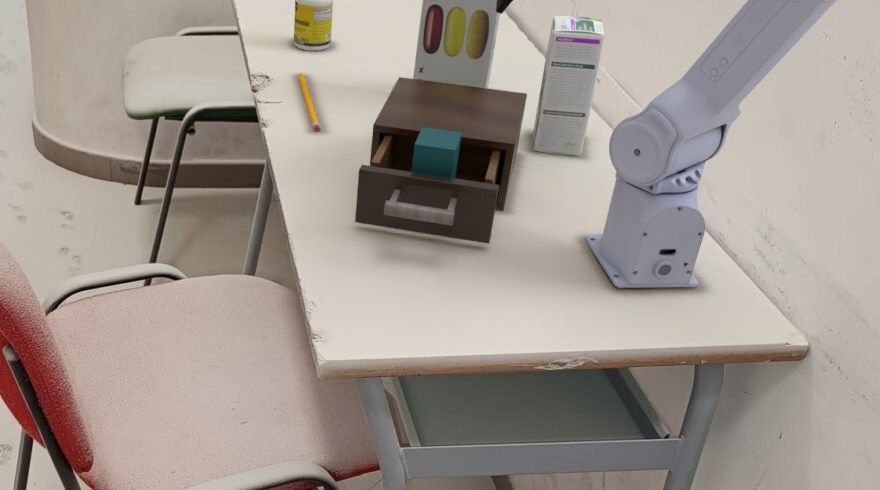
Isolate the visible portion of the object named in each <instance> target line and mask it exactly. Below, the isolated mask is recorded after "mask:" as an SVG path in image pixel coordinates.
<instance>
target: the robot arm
mask: <svg viewBox="0 0 880 490" xmlns="http://www.w3.org/2000/svg"><path fill="white" fill-rule="evenodd" d="M512 2H514V0H497V4H496V12H498V13H500V15H501V14H503V13H504V12H505V11H506V9H507V8H508V7H509V6H510V5H511V4H512ZM836 2H837V0H747V1H746V2H745V3H744V5H742V6H741V8H740V9H739V10H738V11H737V12H736V14H735V15H734V16H733V17H732V19H730V21H728V23H727V24H726V25H725V27H723V29H722V30H721V31H720V33H719V34H718V35H717V36H716V37H715V38H714V39H713V40H712V42H711V43H710V44H709V45H708V47H707V48H706V49H705V50H704V52H702V54H701V55H700V56H699V57H698V59H696V61H695V62H694V63H693V64H692V65H691V66H690V68H689V69H688V70H687V71H686V73H685V74H683V76H682V77H681V78H680V79H678V81H676V82H675V83H673V84H671V86H669V87H667V88H666V89H665V90H664V91H662V92H661V93H660V94H658V95H657V96H656V97H654V98H653V99H652V100H651V101H649V103H648V104H647V105H646V106H645V108H644V109H643V110H641V111H640V112H639V113H637V114H634V115H631V116H628V117H626V118H624V119H623V120H621V121H620V122H619V123H618V124H617V125H616V126H615V128H614V129H613V130H612V133H611V136H610V138H609V144H608V153H609V158H610V161H611V164H612V166H613V168H614V170H615V171H616V172H615V175H614V177H615V182H614V187H613V191H612V194H611V199H610V202H609V206H608V212H607V214H606V215H607V216H606V219H605V224H604V228H603V231H602V234H587V235H585V238H584V240H585V242H586V243H587V245H588V246H589V248H590V250H591V251H592V252H593V254H594V256H595V258H596V259H597V261H598V262H599V263H600V265H601V267H602V268H603V270H604V271H605V273H606V274H607V276H608V278H609V279H610V281H611V282H612V284H613V286H615V287H616V288H619V289H632V288H633V289H635V288H636V289H637V288H640V289H641V288H697V287H698V286H699V280H698V279H697V277H696V276H695V275H694V274H693V272H694V270H695V265H696V262H697V259H698V256H699V252H700V249H701V246H702V243H703V239H704V235H705V233H706V221H705V218H704V216H703V214H702V212H701V210H700V207H699V204H698V190H699V185H700V181H701V180H702V179H701V178H702V174H703V171H704V168H705V164H706V162H707V161H709V160H712V159H713V158H715V157H716V156H717V155H718V154H719V153H720V152H721V150H722V149H723V147H724V146H725V143H726V140H727V136H728V133H729V130H730V128H731V127H732V125H733V123H734V122H735V121H736V120H737V119H738V118H739V117H740V116H741V114H742V113H741V108H740V106H739V105H740V104H741V103H742V102H743V101H744V100H745V99H746V97H748V95H749V94H750V93H751V92H752V91H753V90H754V89H755V88H756V87H757V86H758V85H759V84H760V83H761V82H762V80H763V79H765V77H766V76H767V75H768V74H769V73H770V72H771V71H772V70H773V69H774V68H775V67H776V65H778V63H780V62H781V60H783V58H785V56H786V55H787V54H788V53H789V52H790V51H791V50H792V48H793V47H794V46H795V45H796V44H798V42H799V41H800V40H801V39H802V38H803V37H804V36H805V35H806V34H807V32H809V30H810V29H811V28H812V27H813V26H814V25H815V24H816V23H817V22H818V21H819V20H820V19H821V18H822V17H823V16H824V14H825V13H826V12H827V11H828V10H829V9H830V8H831V7H832V6H833V5H834V4H835V3H836Z"/></svg>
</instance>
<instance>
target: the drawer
mask: <svg viewBox="0 0 880 490" xmlns="http://www.w3.org/2000/svg"><path fill="white" fill-rule="evenodd" d="M416 140H417V137H410V136H402V135H395V134H388V133H386V135H385V137H384V139H383V141H382V142H381V144H380V146H379V148H378V150H377V152H376V154H375V156H374V158H373V160H372V162H371V166H370V165H367V164H361V166H360V167H359V169H358V170H359V171H358V179H357V192H356V193H357V194H356V203H355V205H356V206H355V207H356V208H355V218H354V223H358V224H363V225H364V224H365V225H369V226H377V227H382V228H383V227H384V228H389V229H393V230H394V229H395V230H401V231H408V232H413V233H418V234H419V233H421V234H427V235H432V236H437V237H444V238H451V239H457V240H463V241H469V242H474V243H475V242H476V243H482V244H487V245H489V244H490V242H491V238H492V231H493V225H494V219H495V214H496V210H495V208H496V202H497V196H498V190H499V185H496V184H497V180H498V174H499V168H500V162H501V156H502V149H495V148H488V147H480V146H473V145H466V144H460V148H459V156H458V163H457V170H456V177H455V178H449V177H442V176H435V175H428V174H422V173H415V172H412V163H413V154H414V145H415V142H416Z"/></svg>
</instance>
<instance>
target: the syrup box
mask: <svg viewBox="0 0 880 490" xmlns="http://www.w3.org/2000/svg"><path fill="white" fill-rule="evenodd" d="M603 23H604V22H603V20H602V19H599V18H593V17H588V16H575V15H553V17H552V21H551V28H550V33H549V37H548V43H547V49H546V55H545V60H544V66H543V67H544V68H543V72H542V78H541V85H540V90H539V97H538V102H537V108H536V112H535V113H536V114H535V120H534V125H533V132H532V138H533V139H532V142H533V143H532V144H533V145H532V147H533V148H532V149H533V151H536V152H540V153H547V154H554V155H565V156H577V157H581V156H582V153H583V148H584V143H585V139H586V133H587V129H588V126H589V119H590V115H591V110H592V106H593V105H592V104H593V99H594V96H595V95H594V94H595V89H596V84H597V79H598V73H599V68H600V62H601V56H602V53H603V48H604V42H605V38H606V37H605V36H606V35H605V30H604V24H603Z"/></svg>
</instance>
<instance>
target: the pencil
mask: <svg viewBox="0 0 880 490" xmlns="http://www.w3.org/2000/svg"><path fill="white" fill-rule="evenodd" d="M297 77H298V80H299V84H300V86H301V91H302V94H303V97H304V100H305V105H306V108H307V110H308V114H309V117H310V121H311V125H312V128H313V131H314V132H315V133H319V132H320V131H321V127H320V124H319V120H318V117H317V113H316V110H315V106H314V103H313V100H312V97H311V94H310V91H309V87H308V83H307V80H306V77H305V75H304V72H298V75H297Z"/></svg>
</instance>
